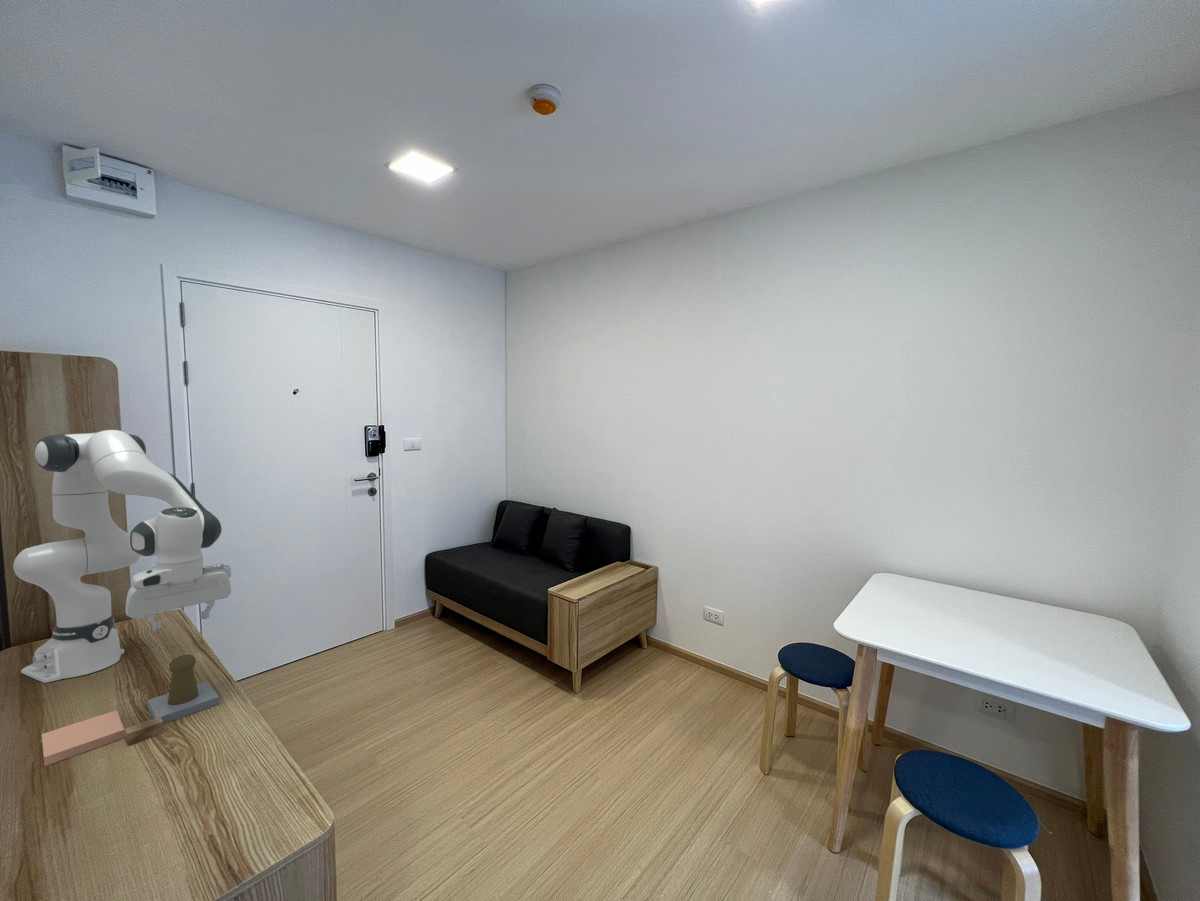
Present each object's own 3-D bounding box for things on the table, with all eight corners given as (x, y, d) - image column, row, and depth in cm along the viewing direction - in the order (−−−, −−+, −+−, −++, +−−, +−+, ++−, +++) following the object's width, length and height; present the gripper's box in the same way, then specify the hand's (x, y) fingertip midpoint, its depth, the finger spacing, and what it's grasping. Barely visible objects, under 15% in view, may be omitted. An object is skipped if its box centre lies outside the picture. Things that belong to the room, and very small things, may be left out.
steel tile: (147, 707, 120) (147, 700, 120) (207, 687, 130) (207, 680, 130) (156, 726, 113) (156, 718, 113) (218, 704, 122) (218, 696, 122)
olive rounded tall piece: (180, 706, 118) (179, 664, 117) (161, 703, 119) (160, 661, 118) (204, 693, 124) (203, 653, 123) (186, 690, 125) (185, 650, 124)
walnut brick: (127, 746, 106) (127, 734, 106) (125, 741, 108) (125, 728, 108) (163, 733, 111) (163, 721, 110) (160, 728, 112) (160, 716, 112)
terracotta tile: (42, 742, 107) (41, 734, 106) (117, 717, 116) (116, 709, 116) (44, 766, 99) (44, 757, 99) (124, 737, 109) (124, 729, 108)
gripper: (227, 560, 130) (228, 608, 131) (123, 577, 114) (124, 632, 115) (234, 564, 126) (234, 614, 127) (127, 583, 110) (128, 640, 111)
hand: (181, 623), depth 120 cm, fingers open, 8 cm apart
